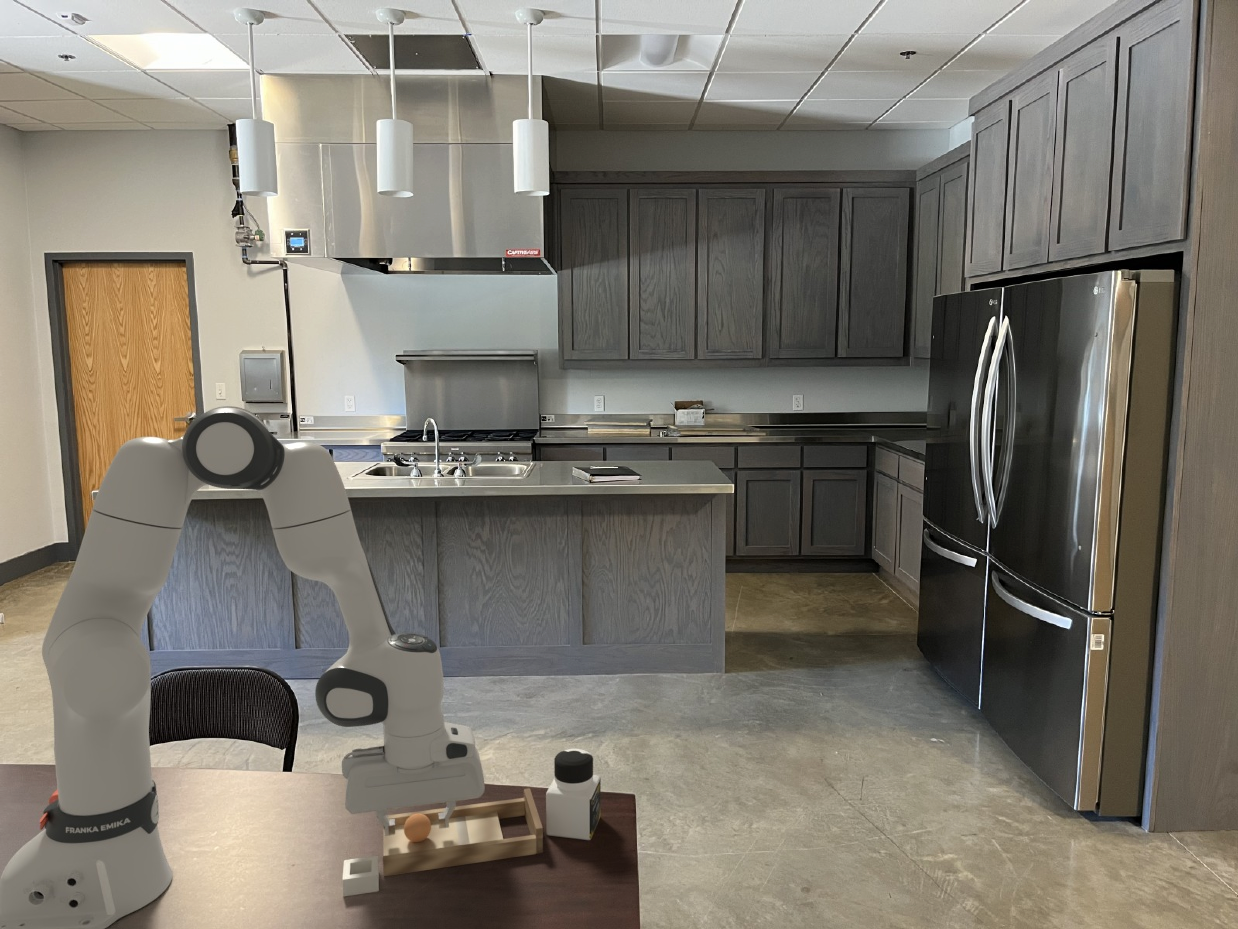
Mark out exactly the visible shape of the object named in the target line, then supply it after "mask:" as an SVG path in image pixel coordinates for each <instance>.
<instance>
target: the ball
mask: <svg viewBox="0 0 1238 929" xmlns="http://www.w3.org/2000/svg"><path fill="white" fill-rule="evenodd" d="M430 831H431V822H430V820H429V818H428V817H427V816H426V815H424V814H420V813H417V814H413V815H411V816H410V817H409V818H408V819H407V820H406V822H405V825H404V833H405V836H406V837H407V839H409V840H410V841H412V842H421V841H423V840H424V839H426V838H427V837H428V835H429V833H430Z"/></svg>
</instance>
